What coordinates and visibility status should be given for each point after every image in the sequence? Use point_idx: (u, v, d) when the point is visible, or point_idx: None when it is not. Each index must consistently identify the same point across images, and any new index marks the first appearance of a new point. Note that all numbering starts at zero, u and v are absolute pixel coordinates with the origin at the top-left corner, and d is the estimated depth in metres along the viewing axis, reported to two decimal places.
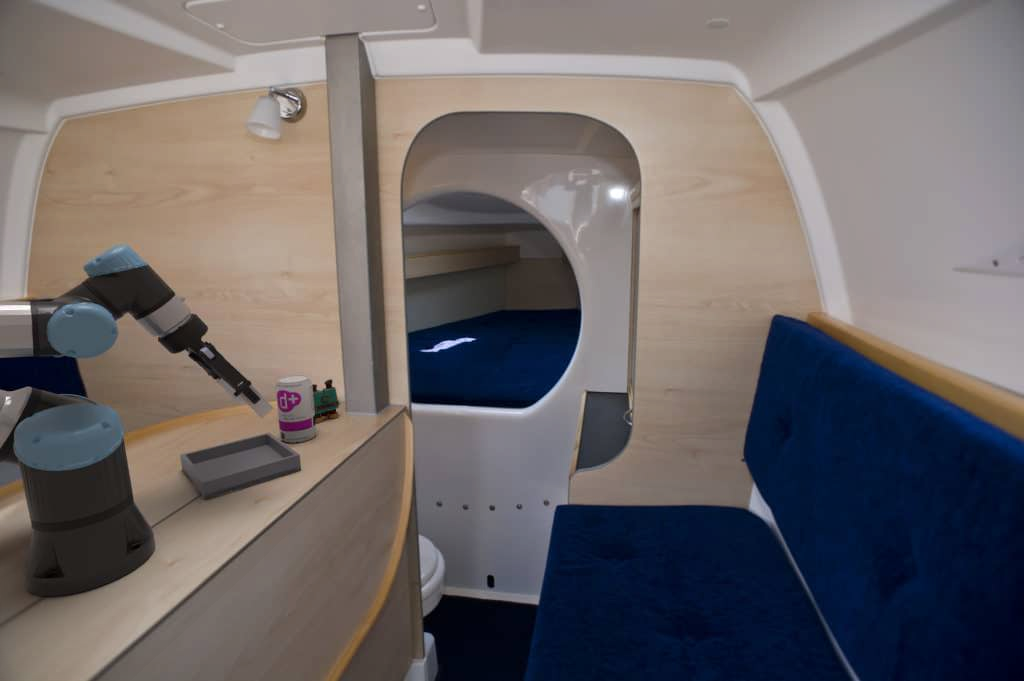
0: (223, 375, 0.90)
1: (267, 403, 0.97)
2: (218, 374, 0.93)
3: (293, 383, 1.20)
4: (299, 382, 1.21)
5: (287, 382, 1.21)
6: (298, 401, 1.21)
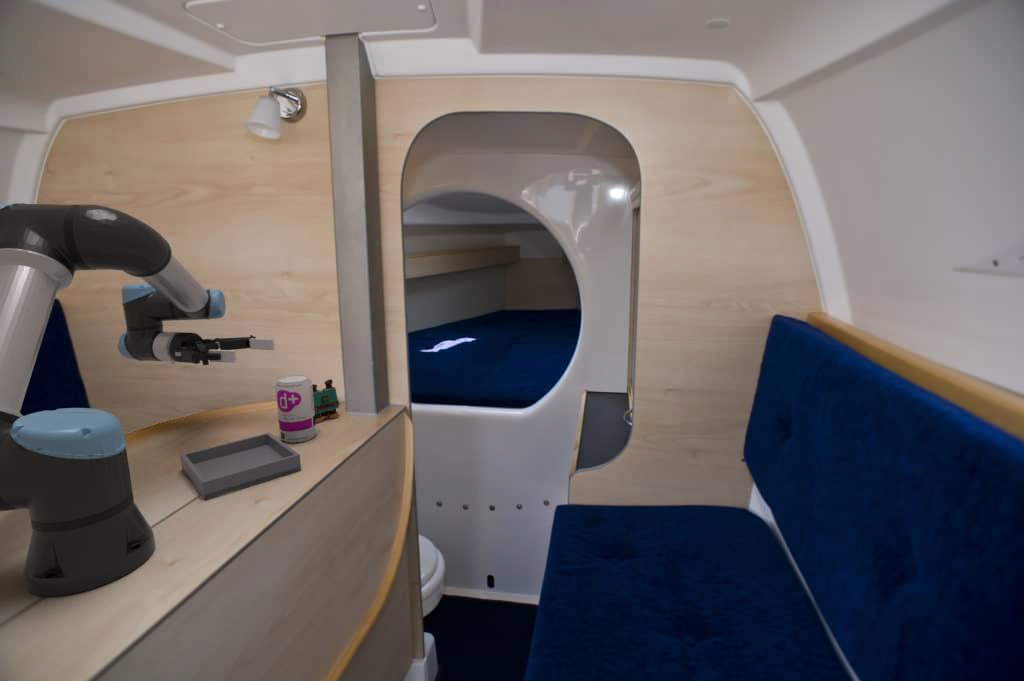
0: None
1: None
2: (230, 340, 1.31)
3: (293, 383, 1.20)
4: (299, 382, 1.21)
5: (287, 382, 1.21)
6: (298, 401, 1.21)
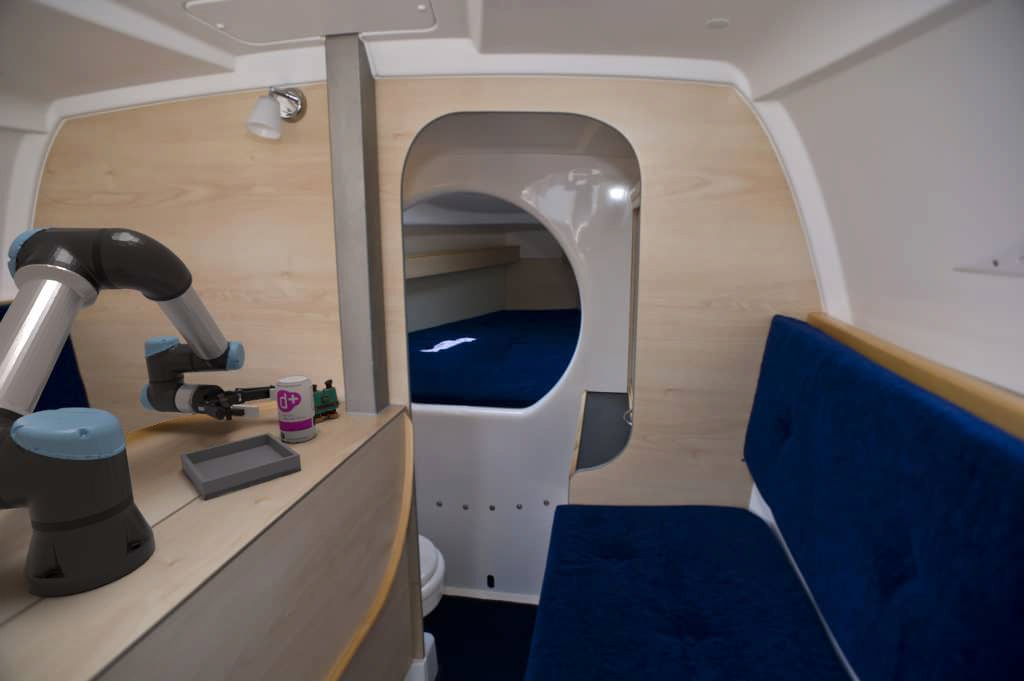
0: None
1: None
2: (250, 390, 1.33)
3: (293, 383, 1.20)
4: (299, 382, 1.21)
5: (287, 382, 1.21)
6: (298, 401, 1.21)
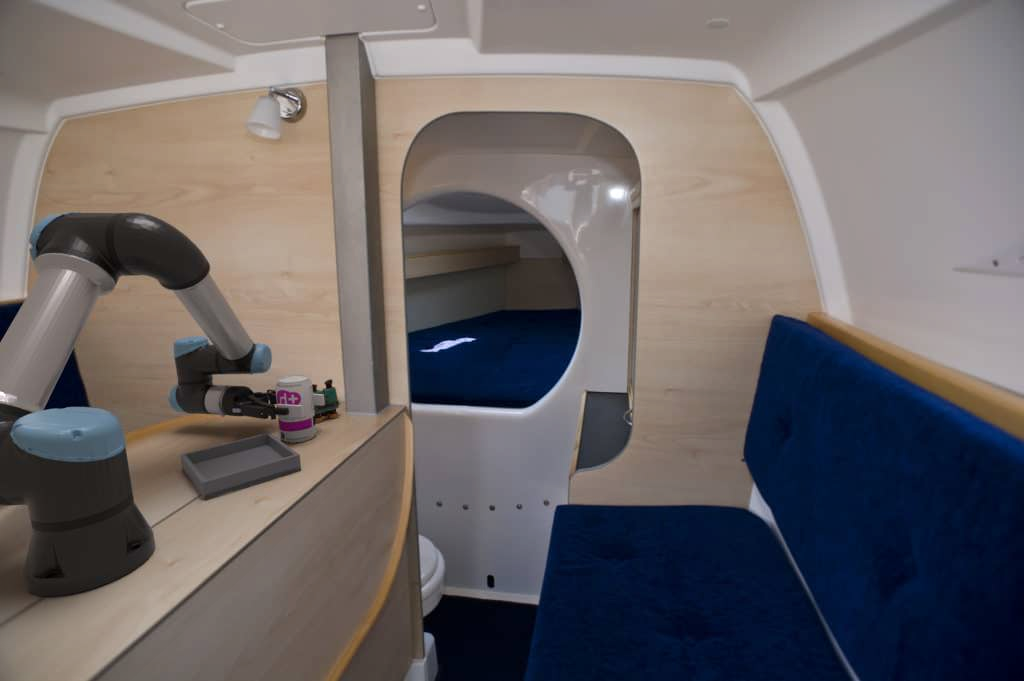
0: None
1: None
2: None
3: (293, 383, 1.20)
4: (299, 382, 1.21)
5: (287, 382, 1.21)
6: (298, 400, 1.21)
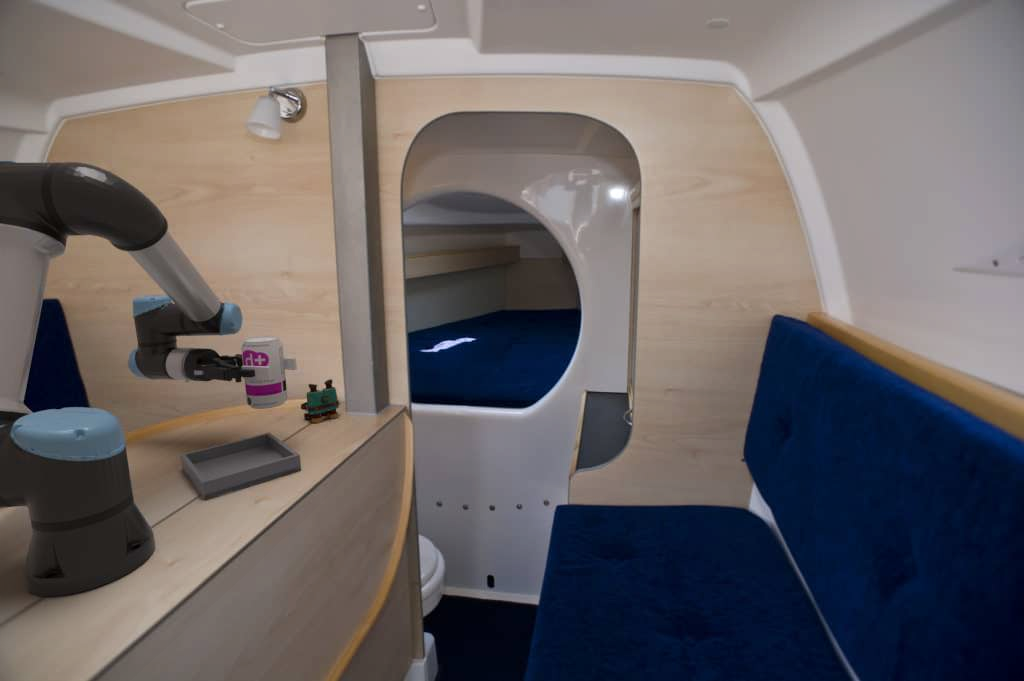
0: None
1: None
2: None
3: (260, 343, 1.10)
4: (267, 342, 1.11)
5: (254, 342, 1.10)
6: (266, 362, 1.11)
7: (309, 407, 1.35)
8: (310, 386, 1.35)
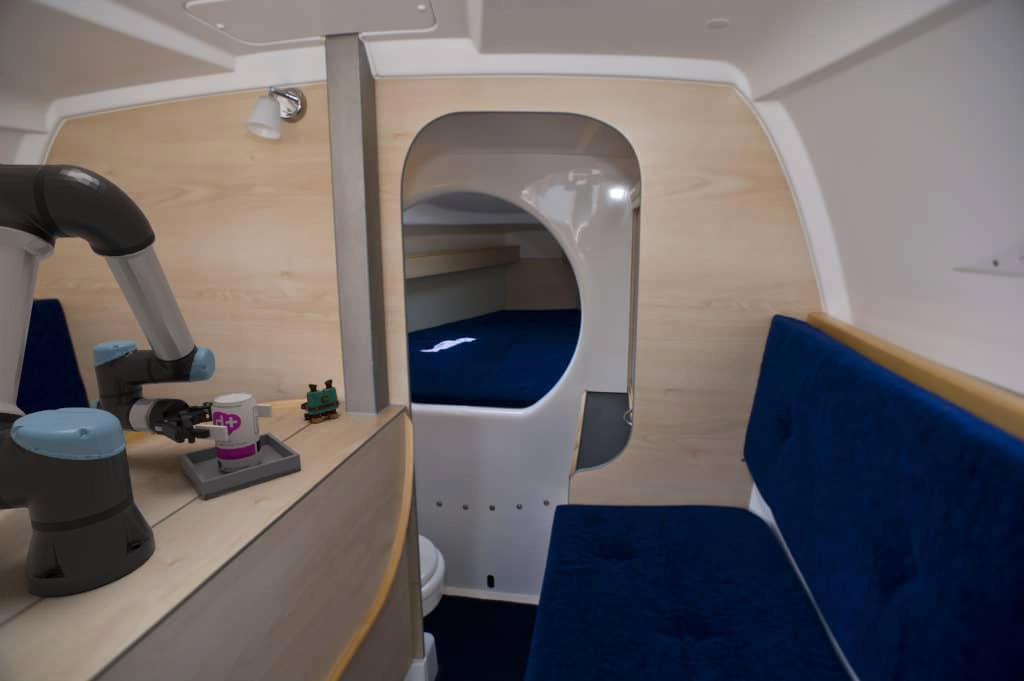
0: None
1: None
2: None
3: (231, 403, 1.02)
4: (239, 402, 1.03)
5: (225, 402, 1.02)
6: (238, 424, 1.02)
7: (309, 407, 1.35)
8: (310, 386, 1.35)
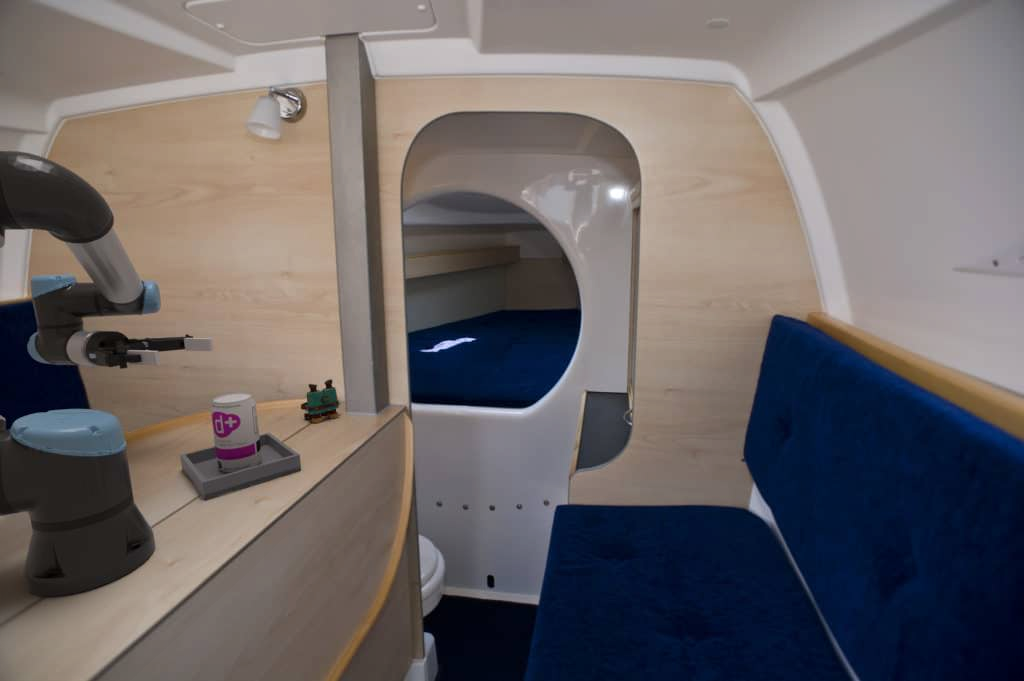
0: None
1: None
2: None
3: (230, 403, 1.02)
4: (238, 402, 1.03)
5: (224, 402, 1.03)
6: (237, 424, 1.03)
7: (309, 407, 1.35)
8: (310, 386, 1.35)
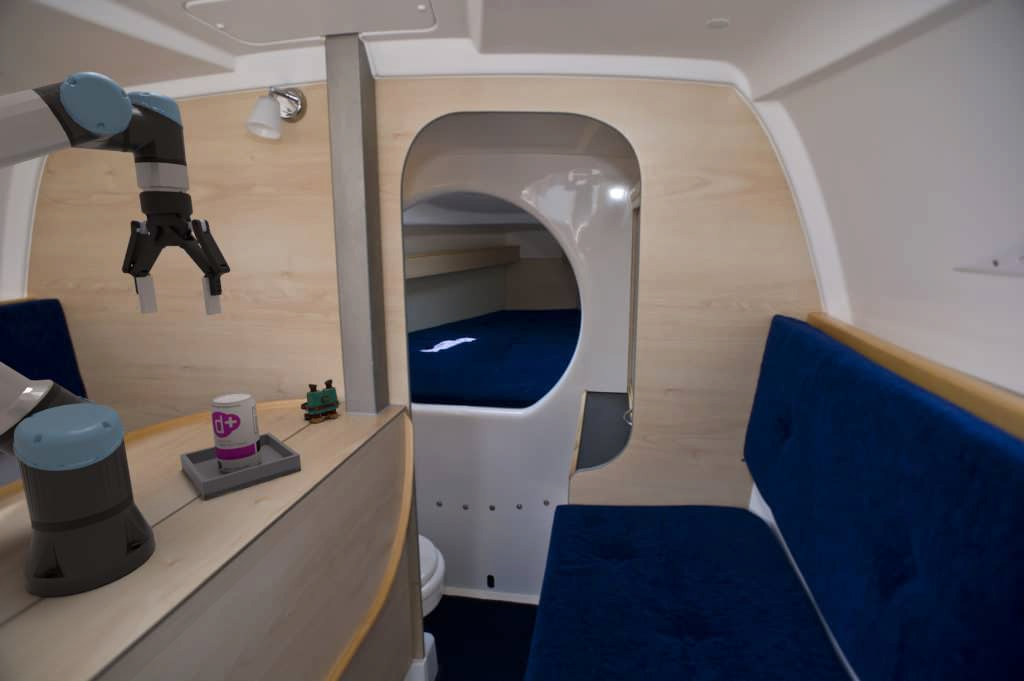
0: (210, 249, 0.88)
1: (219, 305, 0.92)
2: (193, 251, 0.88)
3: (230, 403, 1.02)
4: (238, 402, 1.03)
5: (224, 402, 1.03)
6: (237, 424, 1.03)
7: (309, 407, 1.35)
8: (310, 386, 1.35)
